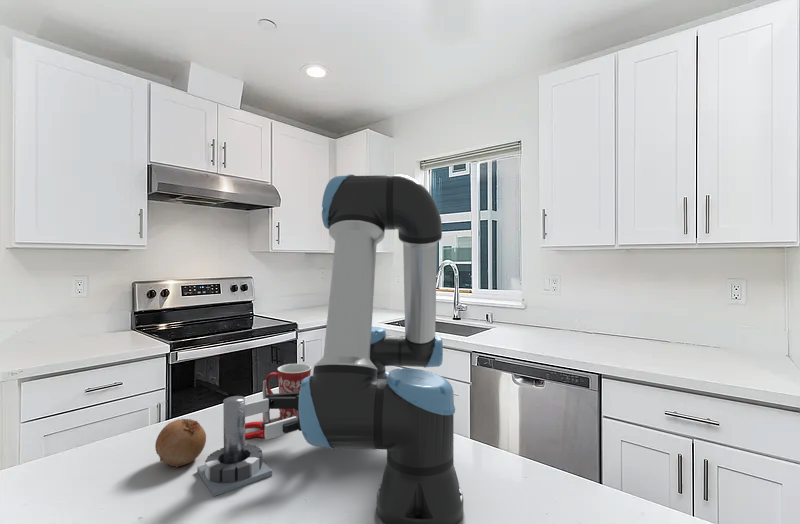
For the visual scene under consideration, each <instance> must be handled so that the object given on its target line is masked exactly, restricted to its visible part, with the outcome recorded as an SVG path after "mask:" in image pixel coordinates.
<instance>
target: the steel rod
mask: <svg viewBox="0 0 800 524" xmlns="http://www.w3.org/2000/svg"><path fill="white" fill-rule="evenodd" d="M245 404H246V397H245V396H242V395H233V396H232V395H231V396H228V397H226V398H224V399H223V409H222V410H223V448H224V464H235V463H239V462H242V461H244V460H245V446H246V439H245V433H246V428H245V423H246V417H245Z"/></svg>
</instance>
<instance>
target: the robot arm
mask: <svg viewBox="0 0 800 524" xmlns="http://www.w3.org/2000/svg"><path fill="white" fill-rule="evenodd" d="M321 208H322V209H321V219H322V224H323V226H324V227H325V229H327V230H328V234H329V236H330V238H332V239H333V240H334V248H333V249H334V250H333V259H332V268H331V269H332V270H331V280H330V288H329V298H328V299H329V300H328V308H327V309H328V310H327V317H326V318H327V319H326V328H325V338H324V345H323V346H324V347H323V356H322V358H320V360H319V361H317V362H316V363H315V364H314V365H313V371H312V375H310V376H308V377H306V378H304V379H303V381H302V383H301V388H300V392H290V393H279V392H277V393H273V394H267V395H266V399H263V398H262V399H260V400H255V401H251V402H247V403H246V402H245V418H247V417H252V416H255V415H258V414H263V412H270V410H279V409H296V411H299V414H298V420H297V417H296V416H294V417H291V418H287V419H283V420H281V419H279V420H277V421H272V422H273V423H269V424H266V425H265V437H264V439H265V440H270V439H273V438H277V437H280V436H283V435H286V434H289V433H293V432H297V431H299V432H301V433H302V436H303V438H304V440H305V442H306V443H308V444H309V445H311V446H313V447H321V448H328V449H330V450H331V449H333V450H334V449H355V450H357V449H358V450H359V449H361V450H383V451H385V450H386V465H385V468H384V471H383V475H382V479H381V482H380V485H379V486H378V489H377V492H376V512H377V513H376V514H377V515H378V518H379V519H380V520H381V521H382V523H383V524H459V523H460V522H461V520H462V518H463V515H464V495H463V491H462V488H461V487H460V483H459V479H458V474H457V472H456V468H455V466H454V457H455V456H454V454H455V453H454V451H455V450H454V447H455V446H454V443H455V442H454V439H455V438H454V435H455V434H454V433H455V432H454V417H455V416H454V414H455V413H456V407H455V400H454V397H455V396H454V389H453V386H452V383H450V381H449V380H447V379H446V378H445V377H443V376H441V375H439V374H437V373H435V372H432V371H427V370H424V369H420V368H436V367H437V368H438V367H440V366H441V365H442V364H443V356H444V354H443V352H444V349H443V348H444V344H443V343H444V342H443V338H442V337H440V336H436V323H437V322H436V320H437V318H436V314H437V311H436V310H437V270H438V269H437V262H438V258H437V257H438V243H439V242H440V241H441V240H442V238H443V237H442V236H443V224H442V217H441V214H440V211H439V208H438V205H437V203H436V202H435V199H434V198H433V196H432V195H431V193H430V192H429V191H428V190H427V188H426V187H425V186H424V185H423V184H422V183H420V182H419V181H417V179H415V178H412V177H410V176H408V175H404V174H392V175H391V174H386V175H385V174H384V175H382V174H380V175H378V174H377V175H355V174H347V175H338V176H334V177H332V178H331V179H330V180H328V182H327V184H326V186H325V189H324V192H323V195H322V202H321ZM388 230H390V231H392V230H394V231H395V230H397V232H398V240H399V241H400V242H401V243H402V245H403V246H402V247H403V249H402V250H403V252H402V253H403V288H404V289H403V293H404V295H403V296H404V298H403V299H404V303H403V304H404V336H403V335H402V336H399V335H387V333H386V329H385V328H383V327H379V326H378V327H377V326H373V310H374V295H375V293H374V292H375V281H376V280H375V277H376V263H377V262H376V261H377V246H378V244H379V243H380V242H382V241H383V240H384V238H385V231H388ZM386 367H404V368H395V369H391V370H390V371H387V370H386ZM406 367H407V368H406ZM409 367H410V368H409ZM411 367H415V368H411ZM417 367H418V368H419V367H420V368H419V369H418V368H417Z"/></svg>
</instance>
